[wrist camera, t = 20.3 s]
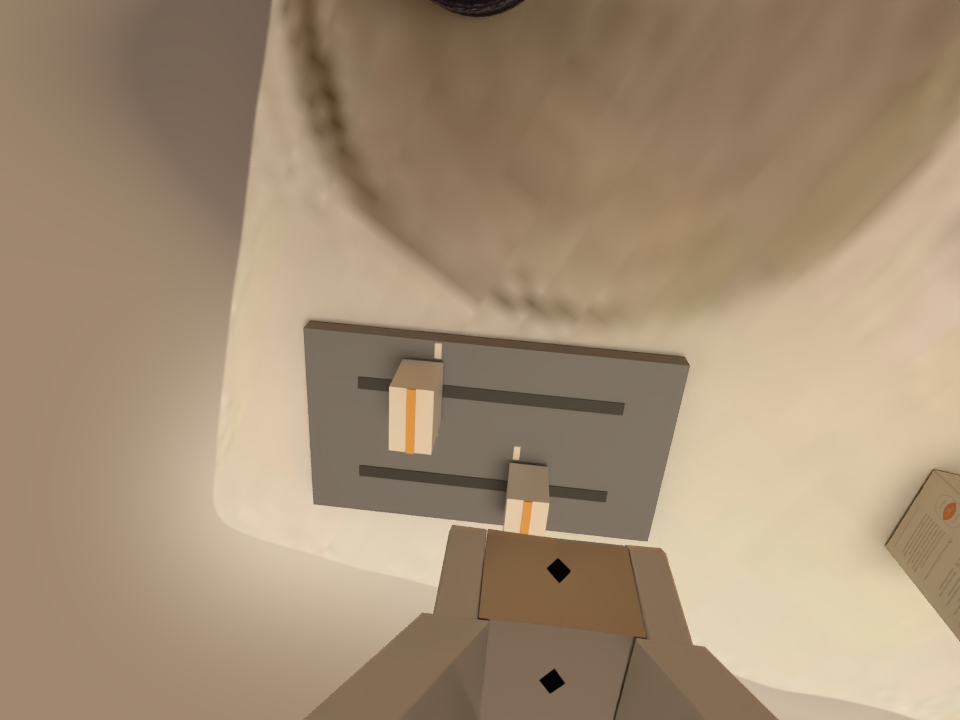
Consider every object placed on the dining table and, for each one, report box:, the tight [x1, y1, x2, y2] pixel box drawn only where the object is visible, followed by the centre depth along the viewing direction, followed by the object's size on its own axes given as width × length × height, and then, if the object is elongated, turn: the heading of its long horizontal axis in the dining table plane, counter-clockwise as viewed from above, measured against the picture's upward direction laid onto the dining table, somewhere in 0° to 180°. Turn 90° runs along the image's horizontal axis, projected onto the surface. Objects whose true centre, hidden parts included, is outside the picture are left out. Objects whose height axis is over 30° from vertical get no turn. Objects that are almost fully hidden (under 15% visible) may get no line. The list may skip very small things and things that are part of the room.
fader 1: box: [389, 359, 444, 455], centre depth 42 cm, size 3×5×5 cm, turn 176°
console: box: [304, 321, 690, 541], centre depth 47 cm, size 28×16×2 cm, turn 86°
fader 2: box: [503, 463, 549, 537], centre depth 45 cm, size 3×5×5 cm, turn 176°
